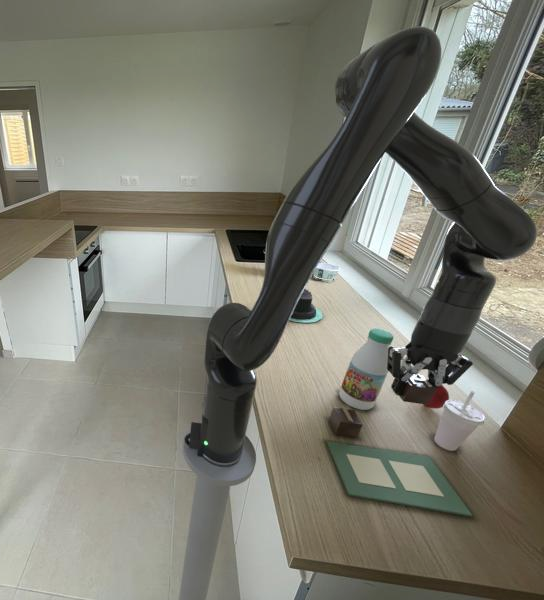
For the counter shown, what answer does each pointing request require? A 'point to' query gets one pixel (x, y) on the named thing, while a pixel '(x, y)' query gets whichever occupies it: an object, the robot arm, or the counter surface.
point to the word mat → (395, 478)
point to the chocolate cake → (305, 309)
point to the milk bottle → (367, 371)
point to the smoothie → (457, 423)
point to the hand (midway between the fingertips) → (409, 394)
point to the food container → (326, 271)
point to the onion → (438, 398)
